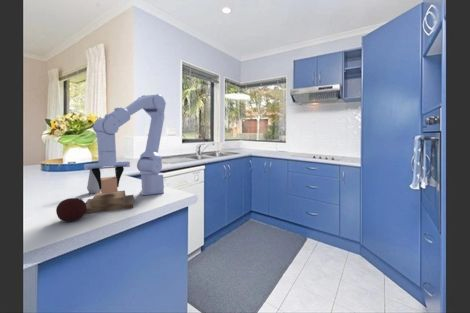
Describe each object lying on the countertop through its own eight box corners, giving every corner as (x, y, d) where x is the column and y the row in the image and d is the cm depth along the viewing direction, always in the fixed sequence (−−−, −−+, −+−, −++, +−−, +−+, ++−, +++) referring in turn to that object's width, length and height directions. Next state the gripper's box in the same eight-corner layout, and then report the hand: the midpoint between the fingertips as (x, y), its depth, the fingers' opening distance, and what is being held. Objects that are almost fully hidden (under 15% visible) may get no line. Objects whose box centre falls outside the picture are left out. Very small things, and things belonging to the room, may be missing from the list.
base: (133, 198, 93) (133, 188, 92) (133, 208, 81) (132, 197, 81) (88, 202, 86) (87, 192, 86) (80, 214, 75) (80, 202, 74)
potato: (62, 217, 72) (61, 196, 71) (90, 214, 74) (89, 194, 74) (52, 226, 65) (50, 203, 64) (82, 223, 67) (81, 200, 67)
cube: (115, 189, 87) (115, 176, 86) (117, 191, 83) (116, 178, 82) (100, 190, 84) (100, 177, 83) (102, 193, 80) (101, 180, 79)
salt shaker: (95, 194, 97) (93, 165, 96) (84, 194, 98) (82, 165, 97) (105, 191, 103) (103, 163, 101) (94, 190, 104) (93, 163, 103)
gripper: (126, 149, 89) (128, 182, 90) (83, 151, 81) (85, 187, 82) (130, 151, 83) (131, 186, 85) (83, 152, 75) (85, 192, 76)
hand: (109, 187), depth 83 cm, fingers closed on cube, 5 cm apart
